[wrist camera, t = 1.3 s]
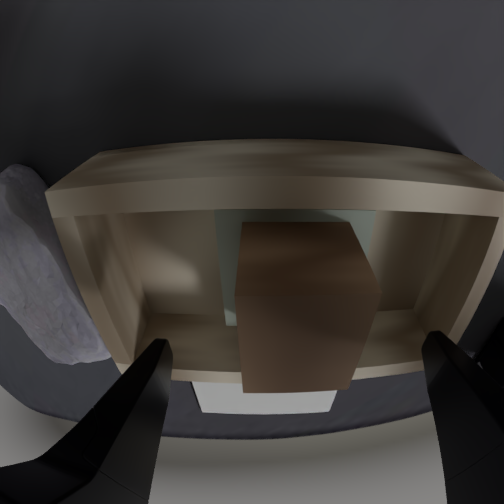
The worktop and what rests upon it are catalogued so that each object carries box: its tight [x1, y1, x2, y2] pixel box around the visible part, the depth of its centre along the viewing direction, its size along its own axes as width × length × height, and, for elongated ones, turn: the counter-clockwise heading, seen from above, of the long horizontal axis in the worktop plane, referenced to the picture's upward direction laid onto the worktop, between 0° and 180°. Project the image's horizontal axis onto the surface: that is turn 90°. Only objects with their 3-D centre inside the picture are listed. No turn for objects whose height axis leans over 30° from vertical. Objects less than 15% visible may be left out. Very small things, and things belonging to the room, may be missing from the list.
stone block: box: [0, 164, 112, 365], centre depth 15 cm, size 12×5×10 cm
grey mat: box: [192, 381, 337, 414], centre depth 21 cm, size 11×11×1 cm
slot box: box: [45, 139, 504, 384], centre depth 13 cm, size 17×10×4 cm, turn 91°
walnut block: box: [234, 222, 382, 393], centre depth 11 cm, size 4×5×4 cm
